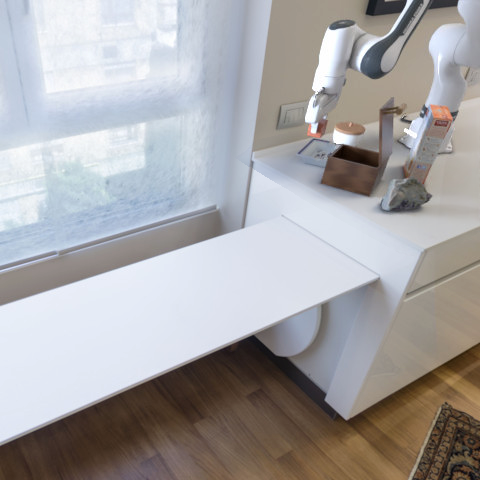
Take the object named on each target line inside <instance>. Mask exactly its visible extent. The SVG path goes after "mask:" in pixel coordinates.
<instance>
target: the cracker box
mask: <svg viewBox="0 0 480 480" xmlns="http://www.w3.org/2000/svg"><path fill="white" fill-rule="evenodd" d="M452 122H453V118H452V116H451V114H450V111H449V109H448V107H447V106H441V105H432V104H430V105H429V106H428V109H427V111H426V114H425V116H424V118H423V121H422V123H421V126H420V128H419V131H418V133H417V135H416V138H415V140H414V143H413V145H412V147H411V148H410V150H409V152H408V155H407V157H406V159H405V162H404V164H403V171H404V179H407V178H410V177H411V176H412V177H414V178H415V179H417V180H418V181H419V182H421V183H422V184H423V185H424V184H425V182H426V180H427V178H428V175H429V173H430V171H431V169H432V167H433V165H434V162H435V160H436V159H437V156H438V154H439V153H438V152H439V150H440V147H441V145H442V143H443V141H444V139H445V137H446V134H447V132H448V130H449V128H450V126H451V124H452ZM453 123H454V122H453Z"/></svg>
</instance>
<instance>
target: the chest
mask: <svg viewBox="0 0 480 480" xmlns="http://www.w3.org/2000/svg"><path fill="white" fill-rule="evenodd" d="M390 158H391V156H390V157H389V158H388V160H387V161H386V162H385V164H384V165H383V166H382V168H379V151H376V150H372V149H367V148H363V147H359V146H356V147H355V146H350V145H346V144H341V145H340V146H339V147H338V148H336V149H334V150H333V152H332V153H331V154H329V155H328V156H327V160H326V163H325V166H324V171H323V174H322V177H321V181H320V184H321V185H326V186H329V187H333V188H337V189H339V190H340V189H341V190H344V191H348V192H351V193H354V194H358V195H362V196H365V197H371V195H372V194H373V193H374V191H375V189H377V187H378V185H379V184H380V183H381V181H382V179H383V176H384V173H385V170H386V168H387V165H388V163H389V160H390Z"/></svg>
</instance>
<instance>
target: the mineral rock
mask: <svg viewBox="0 0 480 480" xmlns="http://www.w3.org/2000/svg"><path fill="white" fill-rule="evenodd" d="M432 197H433V194H432V193H430V192H428V190H427V188H426V186H425V185H424V184H422V183H421V182H419V181H418V180H417V179H415V178H414V177H412V176H411V177H410V178H407V179H405V178H403V179H397V178H394V179H392V180H391V181H390V183H389V186H388V188H387V191H386V194H385V195H384V196H383V197H382V199H381V201H380V206H381V208H382V210H385V211H386V212H391V211H401V210H411V209H413V210H414V209H417V208H420V207H421V206H422V205H425V204H427V203H429V202H430V201H431V199H432Z"/></svg>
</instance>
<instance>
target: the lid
mask: <svg viewBox="0 0 480 480" xmlns="http://www.w3.org/2000/svg"><path fill="white" fill-rule="evenodd" d="M407 108H408V105H407V103H402V104H400V105H398V106H395V96H392V97H390V98H389V99H388V100H387V101H386V102H385V103H384V104H383V105H382V106H381V107H380V108H379V114H378V115H379V116H378V117H379V118H378V119H379V121H378V122H379V123H378V124H379V125H378V152H379V168H382V166H383V165H384V164H385V162H386V161H387V160H388V158H389V157H390V158H391V156H392V154H393V149H394V148H393V146H394V117H395V114H396V115H397V116H400V115H402V114H403V113H404V111H406V110H407ZM390 158H389V159H390ZM388 161H389V160H388Z"/></svg>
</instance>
